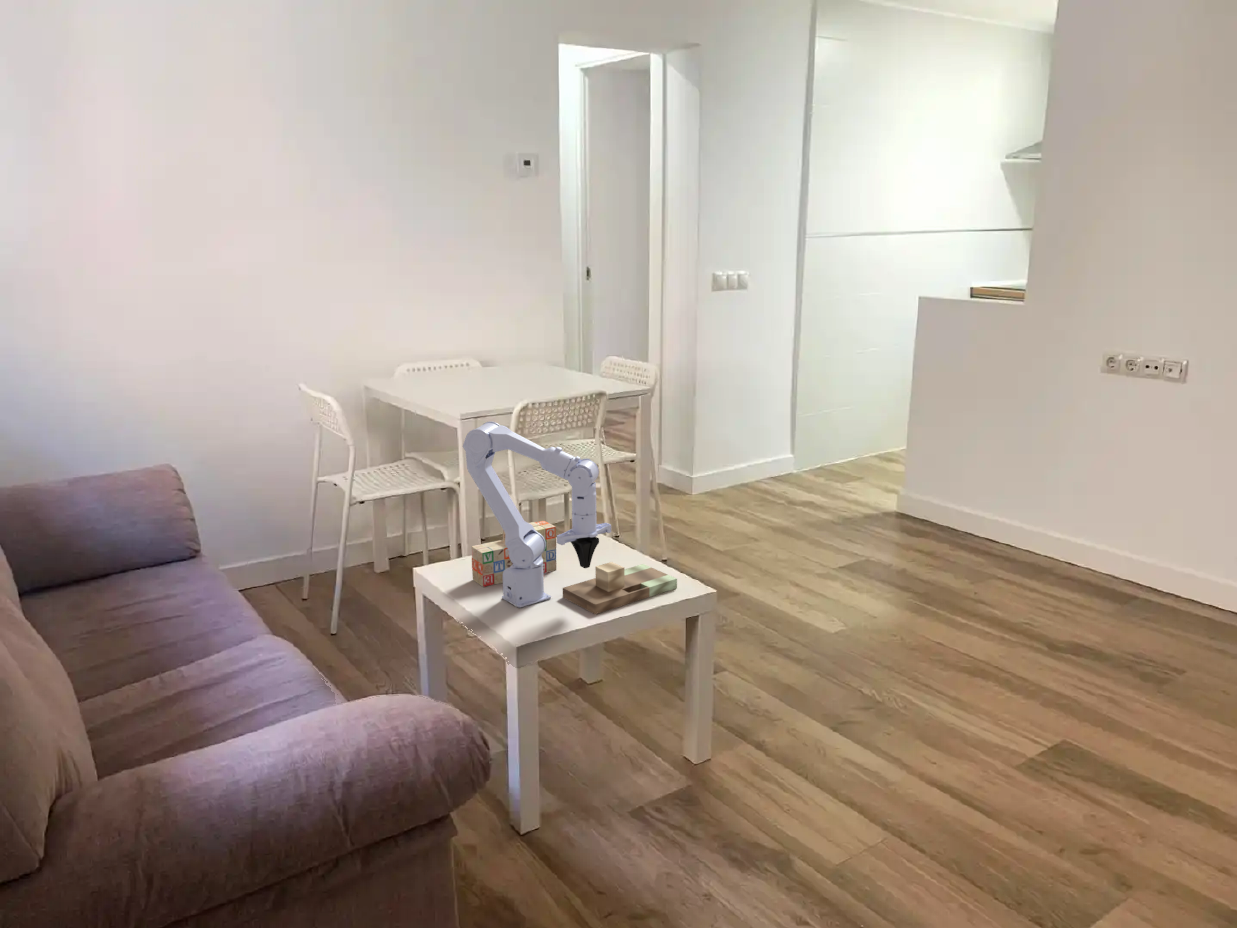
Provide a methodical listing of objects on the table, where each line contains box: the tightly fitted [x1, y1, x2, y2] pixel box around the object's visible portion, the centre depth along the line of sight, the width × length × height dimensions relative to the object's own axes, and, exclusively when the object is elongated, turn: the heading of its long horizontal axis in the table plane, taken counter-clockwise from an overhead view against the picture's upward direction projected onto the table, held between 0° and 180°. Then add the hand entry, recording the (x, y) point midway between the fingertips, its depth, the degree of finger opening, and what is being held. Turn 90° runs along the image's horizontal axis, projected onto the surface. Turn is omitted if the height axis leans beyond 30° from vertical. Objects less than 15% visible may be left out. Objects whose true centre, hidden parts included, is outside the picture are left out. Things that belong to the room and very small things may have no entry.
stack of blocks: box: [471, 520, 557, 588], centre depth 247 cm, size 21×6×12 cm, turn 124°
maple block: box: [594, 561, 625, 592], centre depth 233 cm, size 5×5×5 cm
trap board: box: [562, 563, 678, 615], centre depth 236 cm, size 26×13×2 cm, turn 129°
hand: (584, 566), depth 227 cm, fingers closed
